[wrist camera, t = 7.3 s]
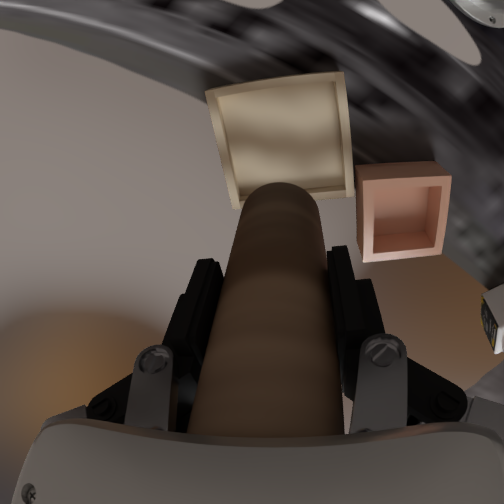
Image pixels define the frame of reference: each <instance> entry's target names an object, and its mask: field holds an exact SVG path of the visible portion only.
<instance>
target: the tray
mask: <svg viewBox="0 0 504 504" xmlns="http://www.w3.org/2000/svg"><path fill="white" fill-rule="evenodd" d="M205 95H206V99H207V103H208V107H209V112H210V116H211V120H212V124H213V129H214V133H215V137H216V142H217V146H218V150H219V154H220V158H221V163H222V167H223V171H224V175H225V179H226V183H227V188H228V192H229V196H230V200H231V204H232V208H233V210H235V209H242V208H243V205H244V203H245V201H246V199H247V198H248V196H249V195H250V194H251V193H252V192H253V191H254V190H256V189H257V188H259V187H261V186H263V185H266V184H269V183H274V182H286V183H291V184H294V185H297V186H299V187H301V188H303V189H304V190H306V191H307V192H308V193H309V194H310V195H311V196H312V197H313V199H314V200H325V199H336V198H347V197H354V177H353V160H352V146H351V134H350V123H349V113H348V103H347V95H346V87H345V79H344V72H342V71H329V72H316V73H306V74H296V75H288V76H280V77H273V78H266V79H259V80H253V81H247V82H242V83H236V84H231V85H226V86H221V87H216V88H211V89H208V90H206V91H205Z"/></svg>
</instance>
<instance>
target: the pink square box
mask: <svg viewBox="0 0 504 504" xmlns="http://www.w3.org/2000/svg"><path fill="white" fill-rule="evenodd" d="M354 166H355V186H356V214H357V215H356V216H357V217H356V219H357V244H358V247H359V250H360V253H361V257H362V260H363V262H373V261H383V260H393V259H402V258H412V257H421V256H430V255H439V254H441V252H442V247H443V241H444V235H445V228H446V222H447V214H448V206H449V198H450V188H451V177H452V176H451V175H450V174H449V173H448V172H447V171H446V170H445V169H444V168H443V167H441V166H440V165H439V164H438V163H437V162H436V161H420V162H397V163H379V164H364V165H354Z"/></svg>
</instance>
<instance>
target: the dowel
mask: <svg viewBox="0 0 504 504" xmlns="http://www.w3.org/2000/svg"><path fill="white" fill-rule="evenodd" d="M186 433H187V434H197V435H209V436H224V437H248V438H292V437H316V436H331V435H343V434H345V433H344V415H343V401H342V387H341V374H340V363H339V358H338V354H337V344H336V335H335V326H334V317H333V308H332V300H331V292H330V285H329V277H328V269H327V258H326V251H325V245H324V239H323V233H322V227H321V221H320V216H319V210H318V206H317V204H316V202H315V200H314V199H313V197H312V196H311V195H310V194H309V193H308V192H307V191H306V190H304V189H303V188H301V187H299V186H297V185H294V184H291V183H286V182H274V183H269V184H266V185H263V186H261V187H259V188H257V189H256V190H254V191H253V192H252V193H251V194H250V195H249V196H248V198H247V199H246V201H245V203H244V205H243V208H242V212H241V215H240V219H239V223H238V227H237V230H236V234H235V238H234V242H233V246H232V249H231V253H230V257H229V261H228V265H227V269H226V273H225V276H224V280H223V284H222V288H221V292H220V296H219V300H218V304H217V308H216V312H215V316H214V320H213V324H212V328H211V332H210V336H209V340H208V344H207V348H206V352H205V356H204V360H203V364H202V369H201V373H200V377H199V381H198V385H197V390H196V394H195V398H194V402H193V407H192V411H191V415H190V419H189V424H188V428H187V432H186Z"/></svg>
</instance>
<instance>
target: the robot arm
mask: <svg viewBox="0 0 504 504" xmlns="http://www.w3.org/2000/svg"><path fill="white" fill-rule="evenodd" d="M450 1H451V2H452V4H453V5H454V6H455V7H456V8H458V9H459V10H460V11H461V12H462V13H463V14H465V15H466V16H468V17H469V18H471V19H472V20H474V21H476V22H478V23H480V24H482V25H485V26H488V27H494V28H504V0H450ZM327 269H328V277H329V285H330V292H331V300H332V308H333V317H334V326H335V335H336V344H337V354H338V358H339V363H340V374H341V384H342V393H344V394H345V396H346V397H347V398H349V399H350V400H352V401H353V407H352V414H351V421H350V428H349V434H343V435H331V436H316V437H292V438H248V437H224V436H209V435H197V434H187V433H186V432H187V428H188V424H189V419H190V415H191V411H192V407H193V402H194V398H195V394H196V390H197V385H198V381H199V377H200V373H201V369H202V364H203V360H204V356H205V352H206V348H207V344H208V340H209V336H210V332H211V328H212V324H213V320H214V316H215V312H216V308H217V304H218V300H219V296H220V292H221V288H222V284H223V280H224V277H223V273H222V270H221V267H220V264H219V262H215V261H214V259H213V258H209V259H199V260H198V261H197V263H196V266H195V268H194V271H193V274H192V276H191V279H190V282H189V284H188V287H187V289H186V292H185V294H181V295H180V297H179V299H178V302H177V304H176V307H175V310H174V312H173V315H172V317H171V321H170V323H169V326H168V328H167V331H166V334H165V336H164V340H163V343H162V345H153V346H150V347H148V348H146V349H144V350H143V351H142V352H141V353H140V354H139V355H138V356H137V358H136V361H135V364H134V369H133V373H131V374H130V375H128V376H127V377H125V378H123V379H122V380H120V381H119V382H117V383H115V384H114V385H112V386H111V387H109V388H107V389H106V390H104V391H103V392H101V393H100V394H98V395H96V396H95V397H94V398H93V399H92V400H91V401H90V403H89V405H88V407H86V405H82V406H80V407H77V408H74V409H72V410H69V411H66V412H64V413H61V414H58V415H56V416H53V417H50V418H48V419H47V420H46V421H45V422H44V423H43V425H42V427H41V431H40V432H39V434H38V435H37V437H36V439H35V440H34V442H33V444H32V446H31V448H30V450H29V453H28V455H27V457H26V460H25V462H24V465H23V468H22V471H21V473H20V477H19V479H18V482H17V485H16V489H15V492H14V496H13V499H12V503H11V504H504V405H503V404H500V403H496V402H493V401H490V400H487V399H483V398H480V397H477V396H474V398H470V397H467V396H466V394H465V393H464V391H463V390H462V389H461V388H460V387H458V386H457V385H455V384H454V383H452V382H450V381H448V380H447V379H445V378H443V377H441V376H439V375H437V374H436V373H434V372H432V371H431V370H429V369H427V368H425V367H424V366H422V365H420V364H418V363H416V362H415V361H413V360H411V359H410V358H408V357H407V351H406V346H405V345H404V343H403V342H402V340H400V339H399V338H398V337H396V336H394V335H391V334H386V333H385V330H384V325H383V322H382V318H381V314H380V310H379V306H378V303H377V299H376V295H375V291H374V288H373V284H372V281H371V279H361V280H355V277H354V273H353V269H352V265H351V260H350V256H349V252H348V248H347V246H346V245H344V246H334V247H332V251H327Z"/></svg>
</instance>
